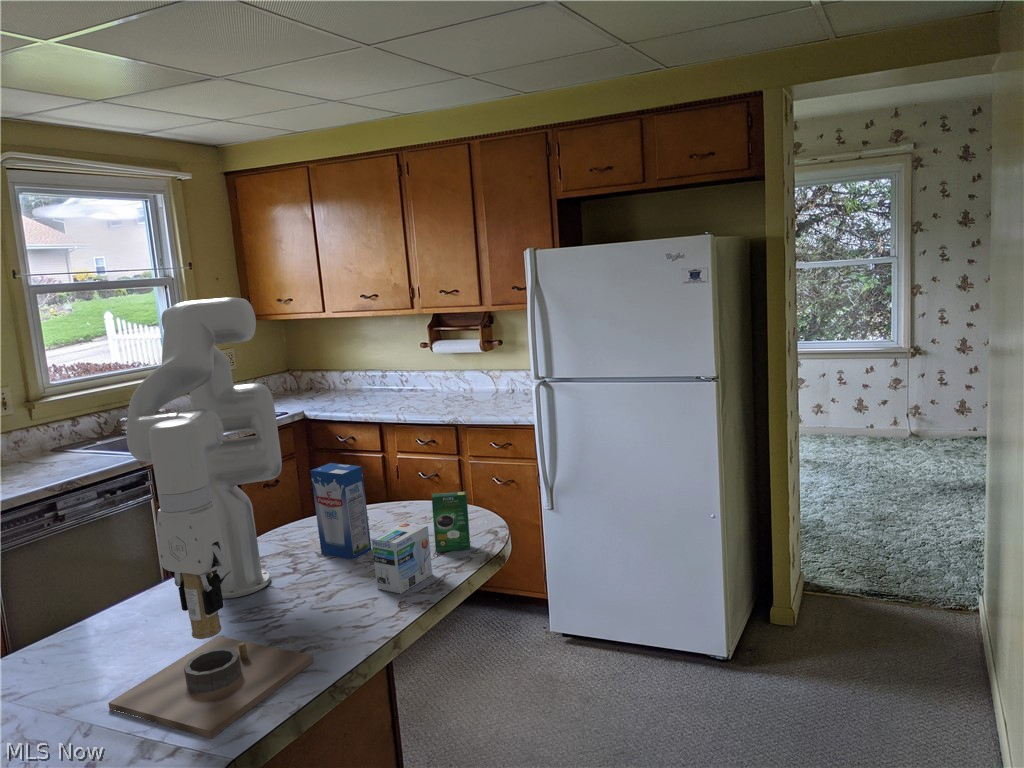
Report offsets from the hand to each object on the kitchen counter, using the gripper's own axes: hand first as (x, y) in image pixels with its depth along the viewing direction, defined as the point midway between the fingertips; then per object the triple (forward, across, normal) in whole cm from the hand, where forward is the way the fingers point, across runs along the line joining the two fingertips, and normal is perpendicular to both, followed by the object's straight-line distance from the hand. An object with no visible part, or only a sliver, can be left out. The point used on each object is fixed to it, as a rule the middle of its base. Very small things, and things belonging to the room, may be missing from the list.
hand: (202, 608), depth 124 cm
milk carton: (+13, -15, +53) cm, 57 cm away
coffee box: (+13, +9, +61) cm, 63 cm away
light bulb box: (+13, +8, +43) cm, 46 cm away
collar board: (+13, 0, 0) cm, 13 cm away
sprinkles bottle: (+5, 0, 0) cm, 5 cm away
